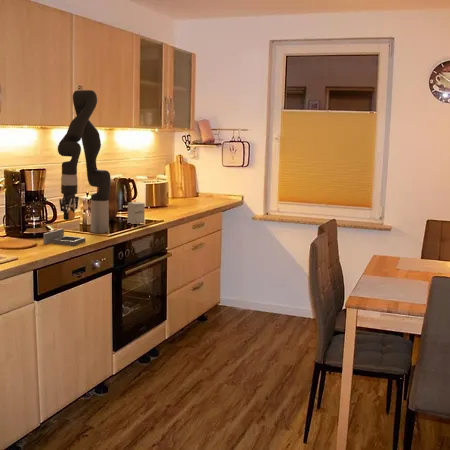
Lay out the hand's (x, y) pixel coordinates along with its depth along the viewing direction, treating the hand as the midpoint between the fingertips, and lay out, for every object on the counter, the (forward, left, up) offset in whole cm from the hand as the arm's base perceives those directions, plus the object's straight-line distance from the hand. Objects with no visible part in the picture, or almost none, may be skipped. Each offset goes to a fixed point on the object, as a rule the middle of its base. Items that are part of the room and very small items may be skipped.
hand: (69, 219), depth 288 cm
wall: (0, -8, -12) cm, 14 cm away
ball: (0, 0, +2) cm, 2 cm away
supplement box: (-66, +5, -12) cm, 67 cm away
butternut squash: (-68, -15, -12) cm, 71 cm away
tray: (0, 0, -12) cm, 12 cm away
